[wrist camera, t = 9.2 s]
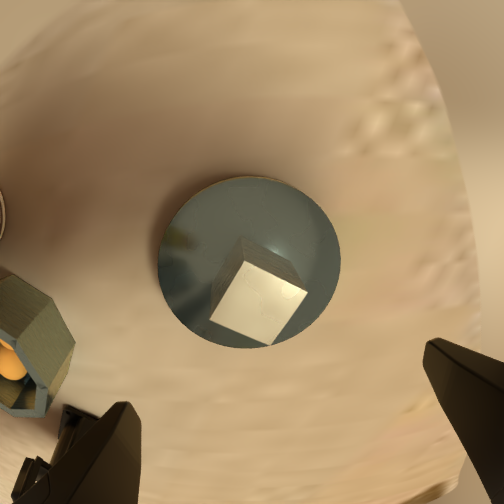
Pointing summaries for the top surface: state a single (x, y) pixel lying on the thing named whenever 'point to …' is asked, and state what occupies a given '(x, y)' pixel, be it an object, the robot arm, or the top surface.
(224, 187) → the tin lid
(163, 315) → the top surface
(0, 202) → the supplement bottle
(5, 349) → the orange ball one
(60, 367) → the tin
